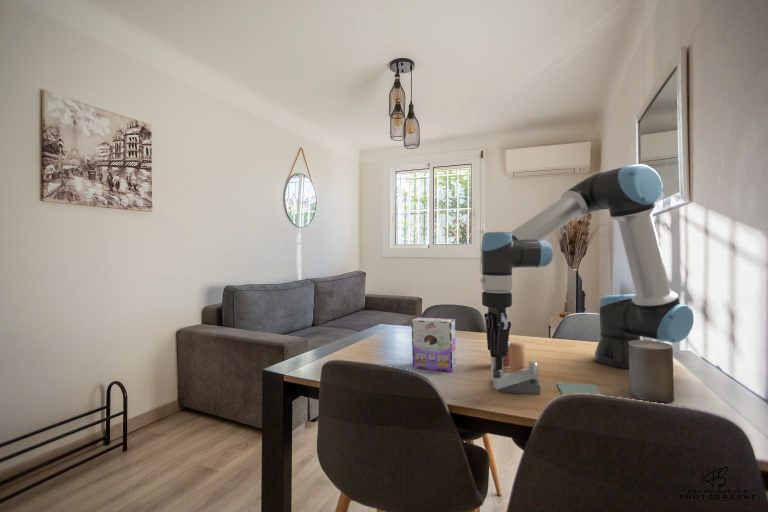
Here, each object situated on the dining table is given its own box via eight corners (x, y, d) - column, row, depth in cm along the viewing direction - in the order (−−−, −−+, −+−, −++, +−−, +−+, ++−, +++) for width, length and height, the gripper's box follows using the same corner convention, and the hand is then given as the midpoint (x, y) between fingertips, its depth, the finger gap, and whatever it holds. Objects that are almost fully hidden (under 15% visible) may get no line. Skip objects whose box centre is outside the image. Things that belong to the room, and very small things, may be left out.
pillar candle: (680, 396, 99) (678, 339, 99) (665, 406, 93) (664, 345, 93) (638, 386, 107) (636, 333, 107) (622, 394, 101) (621, 338, 101)
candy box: (456, 367, 127) (455, 318, 127) (452, 372, 122) (451, 321, 121) (417, 363, 133) (416, 316, 133) (411, 368, 127) (410, 319, 127)
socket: (535, 380, 113) (535, 372, 113) (540, 394, 102) (540, 385, 102) (497, 378, 116) (497, 369, 116) (497, 391, 105) (497, 382, 105)
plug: (529, 382, 111) (528, 341, 111) (531, 391, 105) (531, 347, 104) (504, 380, 113) (503, 340, 113) (505, 389, 107) (504, 346, 106)
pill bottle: (515, 367, 126) (514, 333, 126) (502, 370, 123) (502, 336, 123) (500, 362, 131) (499, 330, 131) (487, 366, 128) (487, 333, 128)
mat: (595, 386, 107) (595, 385, 107) (605, 400, 97) (605, 398, 97) (556, 383, 110) (556, 382, 110) (562, 396, 100) (562, 395, 100)
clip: (532, 379, 106) (532, 358, 106) (539, 381, 104) (539, 360, 104) (491, 391, 97) (491, 369, 97) (498, 394, 96) (497, 371, 95)
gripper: (475, 288, 105) (475, 372, 106) (491, 294, 92) (491, 390, 93) (501, 288, 106) (501, 371, 106) (521, 293, 93) (521, 389, 93)
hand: (497, 380), depth 100 cm, fingers closed
